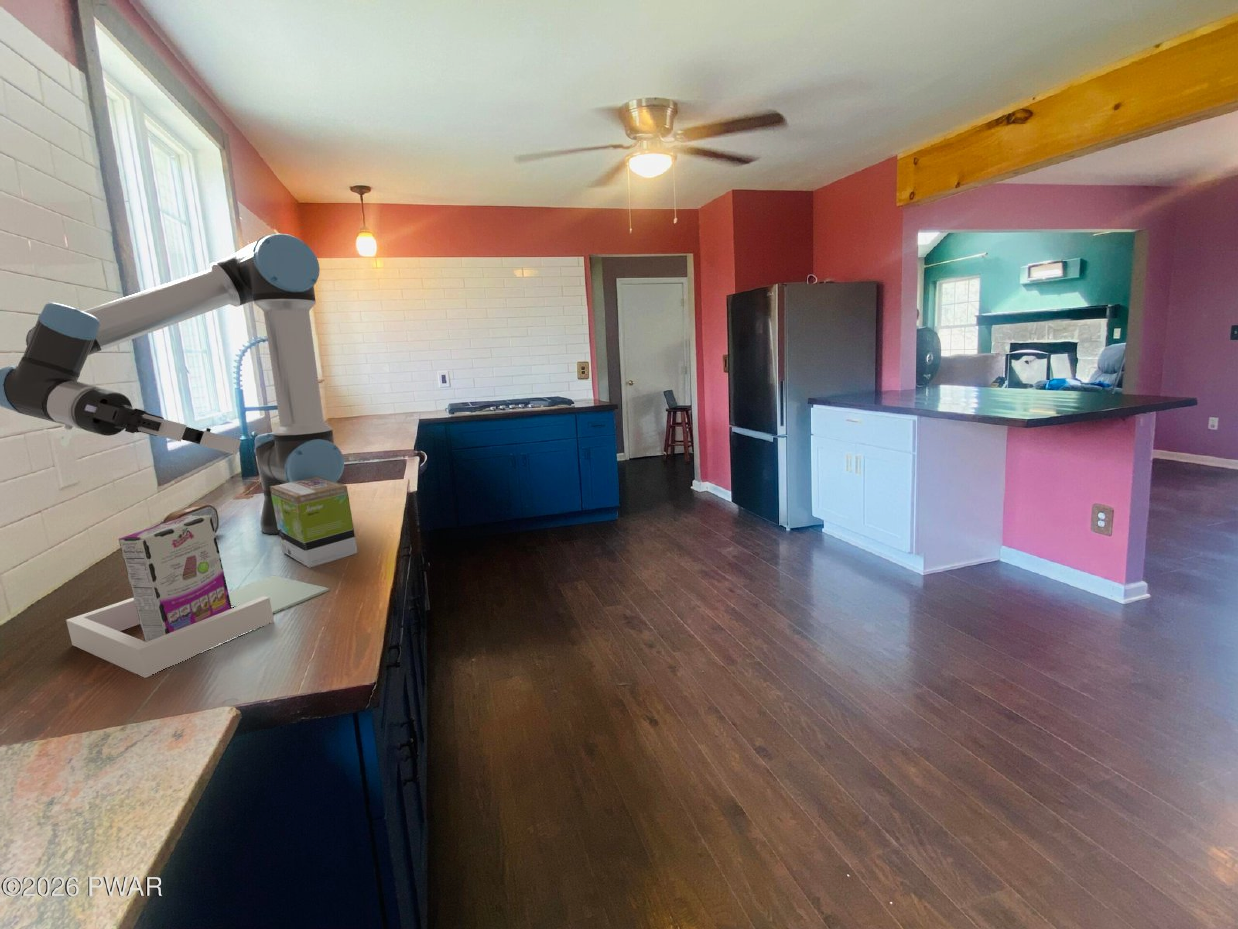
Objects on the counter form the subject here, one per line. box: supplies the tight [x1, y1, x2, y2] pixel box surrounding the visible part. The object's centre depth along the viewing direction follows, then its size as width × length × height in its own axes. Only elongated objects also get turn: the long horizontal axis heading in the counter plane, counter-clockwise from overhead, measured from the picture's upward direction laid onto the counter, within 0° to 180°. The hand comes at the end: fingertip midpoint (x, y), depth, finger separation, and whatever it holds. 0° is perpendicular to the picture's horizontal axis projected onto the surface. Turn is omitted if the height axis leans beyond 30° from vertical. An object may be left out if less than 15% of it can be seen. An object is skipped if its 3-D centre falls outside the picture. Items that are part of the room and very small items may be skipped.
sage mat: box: [228, 575, 330, 614], centre depth 102 cm, size 11×16×1 cm
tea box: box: [270, 477, 358, 569], centre depth 121 cm, size 15×10×15 cm
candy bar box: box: [118, 515, 233, 642], centre depth 89 cm, size 11×5×16 cm, turn 168°
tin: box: [161, 503, 220, 534], centre depth 134 cm, size 15×3×8 cm, turn 178°
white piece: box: [65, 596, 275, 679], centre depth 89 cm, size 17×22×4 cm
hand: (211, 440), depth 99 cm, fingers open, 13 cm apart
